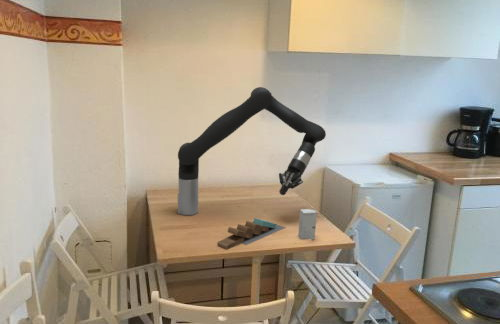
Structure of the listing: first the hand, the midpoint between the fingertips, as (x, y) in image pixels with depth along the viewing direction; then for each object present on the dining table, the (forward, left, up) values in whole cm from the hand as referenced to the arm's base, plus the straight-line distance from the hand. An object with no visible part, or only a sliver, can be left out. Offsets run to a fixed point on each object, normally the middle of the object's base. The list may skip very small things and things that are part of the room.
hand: (281, 194), depth 188 cm
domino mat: (-10, -11, -14) cm, 21 cm away
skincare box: (+11, -14, -15) cm, 23 cm away
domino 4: (-7, -8, -13) cm, 17 cm away
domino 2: (-14, -16, -13) cm, 25 cm away
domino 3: (-10, -12, -13) cm, 21 cm away
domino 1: (-17, -20, -13) cm, 29 cm away
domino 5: (-4, -4, -13) cm, 14 cm away
